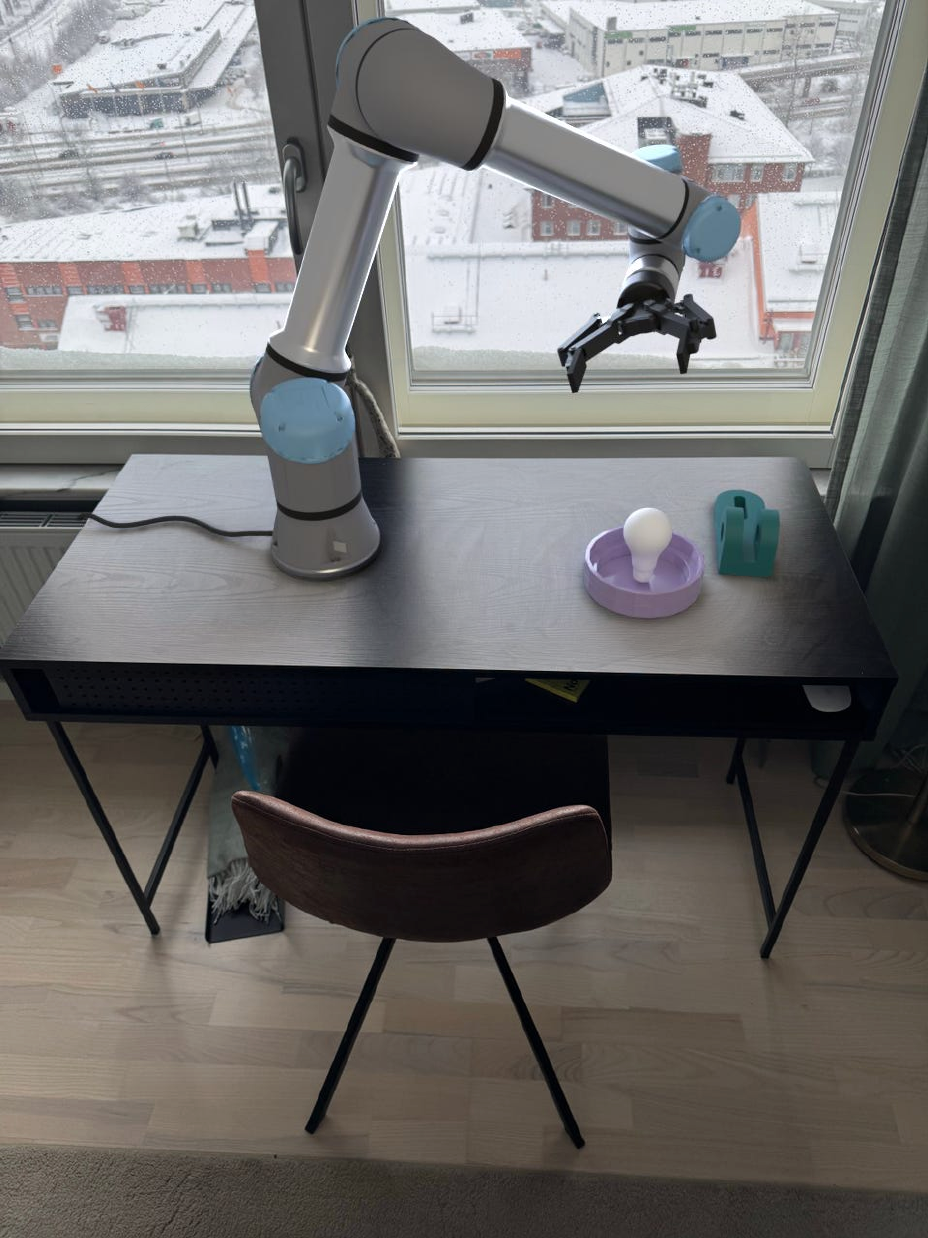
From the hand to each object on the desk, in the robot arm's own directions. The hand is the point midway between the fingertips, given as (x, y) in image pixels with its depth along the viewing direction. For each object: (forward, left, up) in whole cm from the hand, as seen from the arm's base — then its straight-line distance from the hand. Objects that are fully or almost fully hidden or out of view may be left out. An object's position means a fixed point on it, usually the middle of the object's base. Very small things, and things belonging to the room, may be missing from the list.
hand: (625, 373), depth 114 cm
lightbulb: (+7, -6, -26) cm, 27 cm away
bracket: (+16, +10, -26) cm, 32 cm away
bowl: (+6, -6, -26) cm, 28 cm away
